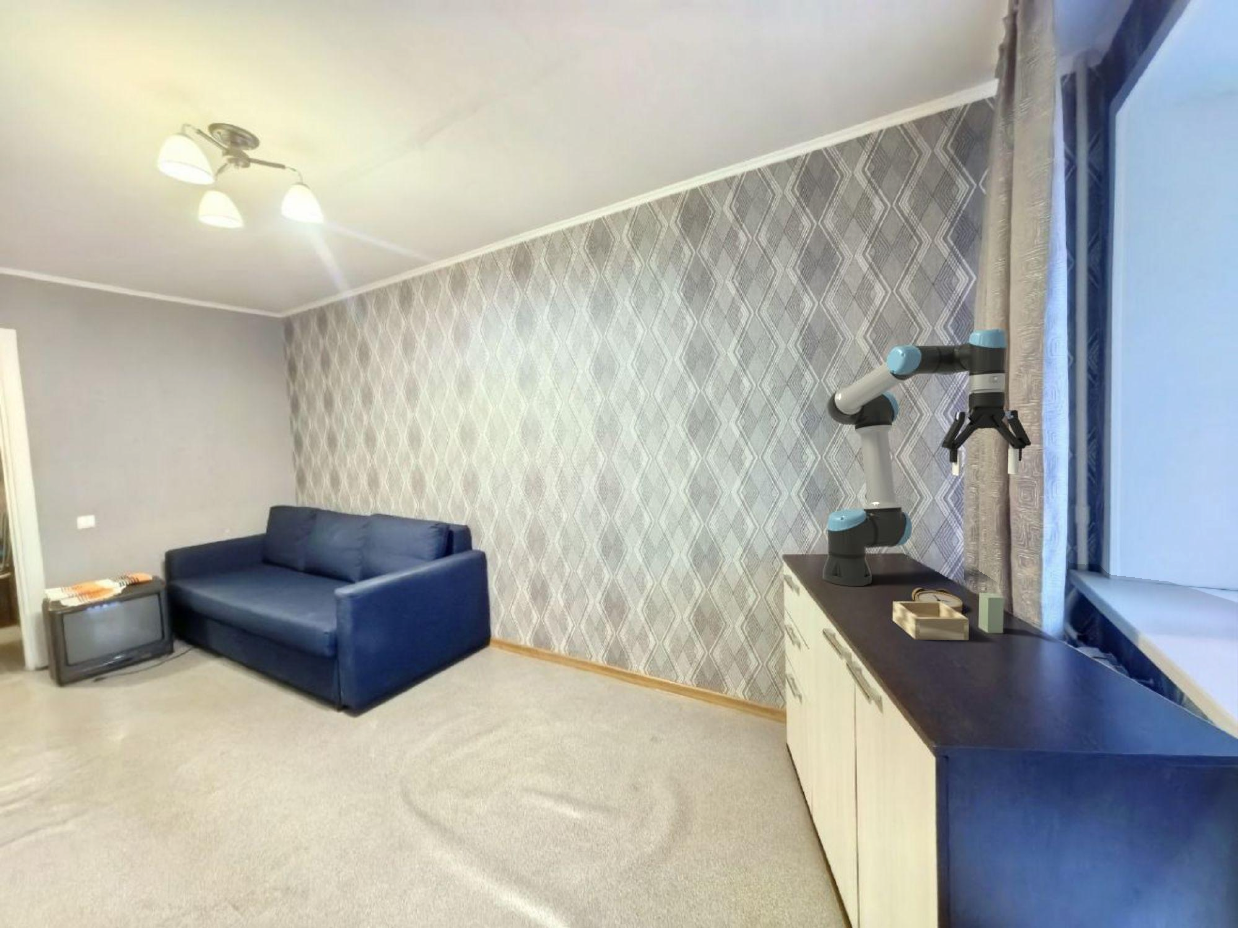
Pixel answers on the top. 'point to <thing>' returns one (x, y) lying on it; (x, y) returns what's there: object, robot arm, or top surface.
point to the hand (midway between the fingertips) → (984, 474)
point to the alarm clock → (937, 598)
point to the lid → (991, 612)
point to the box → (931, 621)
